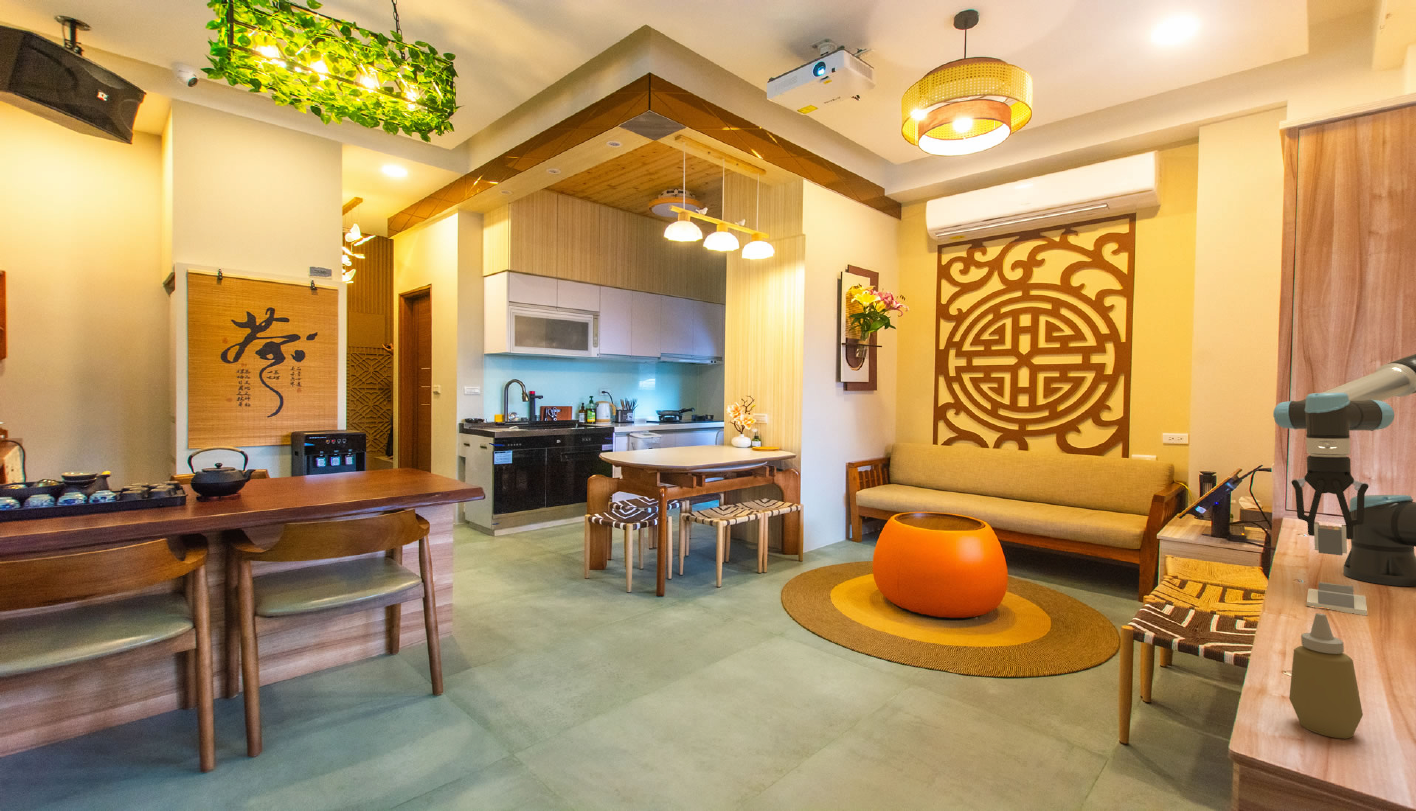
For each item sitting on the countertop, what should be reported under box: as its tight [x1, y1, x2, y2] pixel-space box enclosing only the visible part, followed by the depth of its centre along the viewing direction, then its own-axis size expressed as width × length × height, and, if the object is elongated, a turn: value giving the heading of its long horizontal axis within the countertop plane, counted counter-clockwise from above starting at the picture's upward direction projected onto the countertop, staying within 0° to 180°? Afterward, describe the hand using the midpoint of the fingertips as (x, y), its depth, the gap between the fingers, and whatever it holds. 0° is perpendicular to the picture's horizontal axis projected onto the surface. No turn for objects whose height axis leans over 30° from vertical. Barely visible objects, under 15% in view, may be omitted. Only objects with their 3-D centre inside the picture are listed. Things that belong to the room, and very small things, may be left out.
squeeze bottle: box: [1289, 613, 1364, 739], centre depth 95 cm, size 8×8×18 cm
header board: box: [1306, 581, 1368, 616], centre depth 149 cm, size 14×10×4 cm
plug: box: [1318, 524, 1344, 556], centre depth 149 cm, size 6×4×6 cm, turn 133°
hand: (1330, 550), depth 149 cm, fingers closed on plug, 4 cm apart
